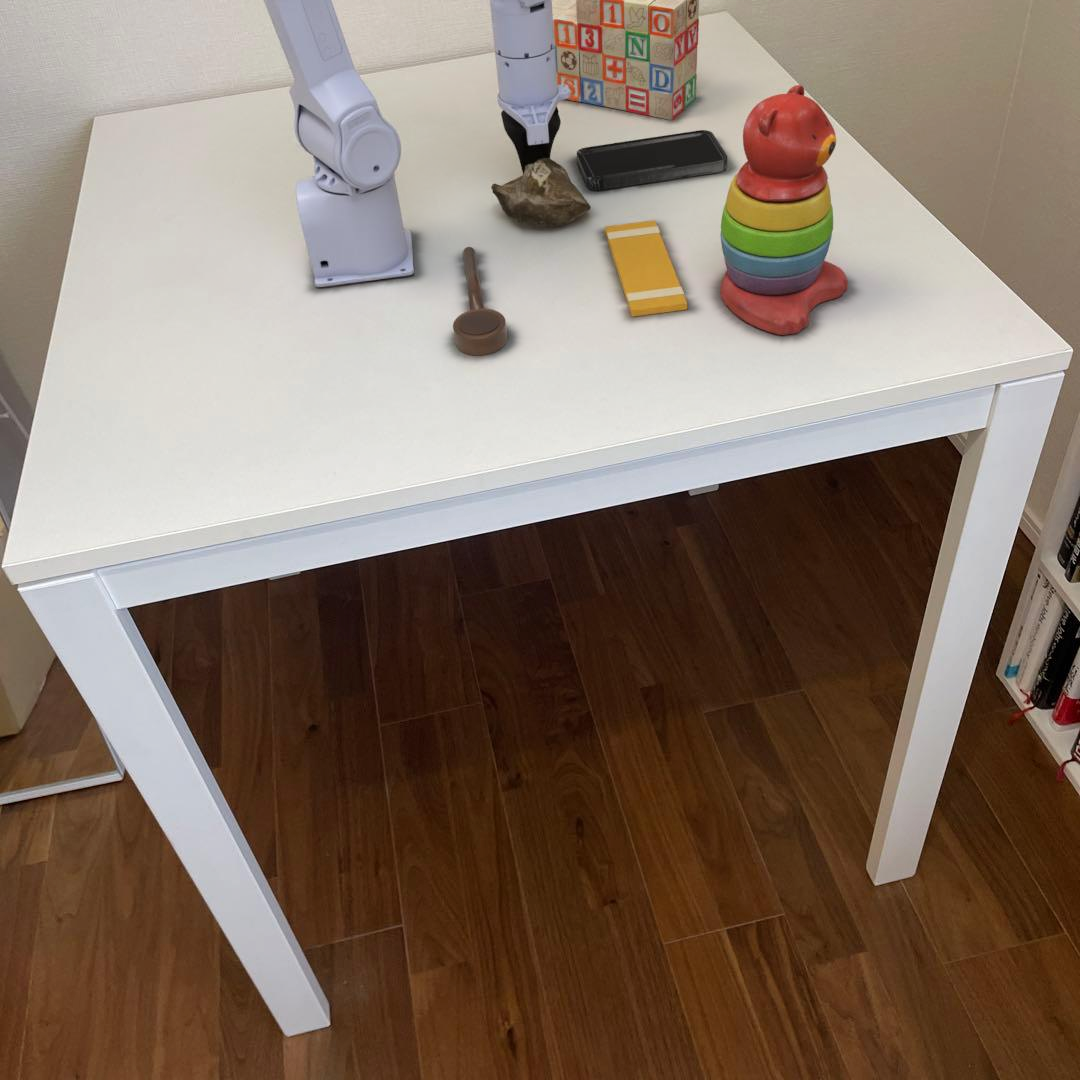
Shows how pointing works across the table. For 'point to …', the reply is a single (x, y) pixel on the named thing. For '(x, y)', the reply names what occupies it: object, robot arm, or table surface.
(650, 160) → the phone
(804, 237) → the stacking bear
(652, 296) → the towel
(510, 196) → the fossilized seashell
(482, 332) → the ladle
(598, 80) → the stack of blocks
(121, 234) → the table surface
